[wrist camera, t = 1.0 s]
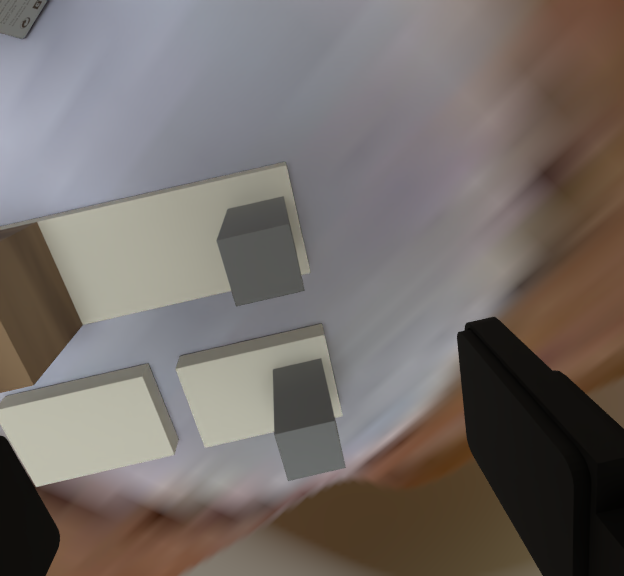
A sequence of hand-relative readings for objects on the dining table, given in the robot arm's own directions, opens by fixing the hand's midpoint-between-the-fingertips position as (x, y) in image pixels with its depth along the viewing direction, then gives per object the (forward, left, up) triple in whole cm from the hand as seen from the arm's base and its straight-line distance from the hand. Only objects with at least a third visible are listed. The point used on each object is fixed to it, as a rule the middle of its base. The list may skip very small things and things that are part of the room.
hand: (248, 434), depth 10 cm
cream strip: (+8, 0, -18) cm, 20 cm away
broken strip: (+8, +10, -18) cm, 22 cm away
